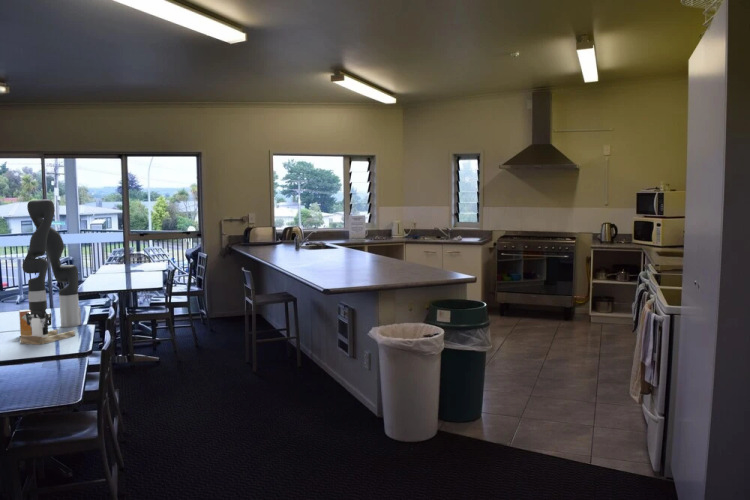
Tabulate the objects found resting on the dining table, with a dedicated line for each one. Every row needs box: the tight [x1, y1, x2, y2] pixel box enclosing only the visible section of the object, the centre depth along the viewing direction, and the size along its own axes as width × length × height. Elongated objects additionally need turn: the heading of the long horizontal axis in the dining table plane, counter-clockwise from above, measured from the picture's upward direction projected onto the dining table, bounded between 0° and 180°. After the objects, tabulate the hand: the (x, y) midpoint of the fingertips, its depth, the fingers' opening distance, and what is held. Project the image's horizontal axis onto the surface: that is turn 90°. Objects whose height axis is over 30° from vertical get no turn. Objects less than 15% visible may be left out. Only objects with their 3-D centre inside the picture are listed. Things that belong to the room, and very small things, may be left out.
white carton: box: [31, 317, 48, 338], centre depth 283 cm, size 6×6×12 cm
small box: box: [18, 308, 32, 336], centre depth 298 cm, size 8×6×13 cm
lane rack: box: [19, 329, 75, 346], centre depth 287 cm, size 20×12×4 cm, turn 160°
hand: (39, 334), depth 283 cm, fingers closed on white carton, 6 cm apart
